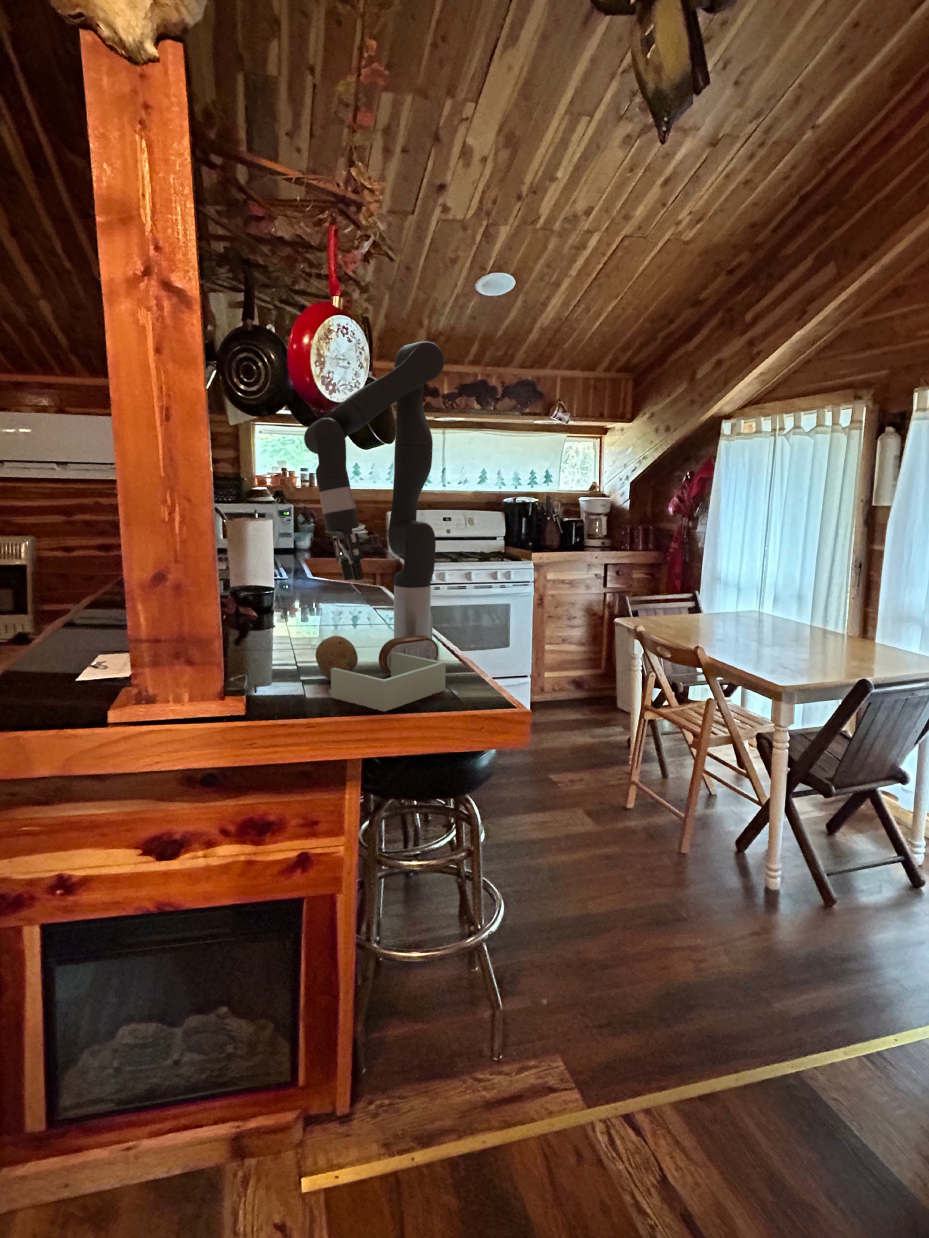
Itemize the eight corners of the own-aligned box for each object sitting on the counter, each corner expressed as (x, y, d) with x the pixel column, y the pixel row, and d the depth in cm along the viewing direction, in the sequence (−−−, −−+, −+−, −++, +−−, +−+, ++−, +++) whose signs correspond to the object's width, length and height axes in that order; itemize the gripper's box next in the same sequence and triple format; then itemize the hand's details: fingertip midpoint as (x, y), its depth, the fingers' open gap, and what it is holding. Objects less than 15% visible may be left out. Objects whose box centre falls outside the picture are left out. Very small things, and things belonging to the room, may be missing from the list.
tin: (432, 667, 178) (433, 632, 177) (440, 670, 176) (440, 634, 174) (377, 676, 169) (377, 639, 168) (385, 679, 167) (385, 642, 165)
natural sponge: (339, 673, 171) (339, 630, 170) (366, 680, 166) (366, 636, 164) (307, 680, 165) (307, 636, 163) (335, 688, 159) (334, 642, 157)
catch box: (393, 678, 168) (393, 651, 167) (445, 690, 160) (445, 662, 159) (331, 697, 153) (330, 668, 152) (384, 711, 145) (384, 681, 144)
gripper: (363, 504, 166) (378, 576, 168) (346, 509, 179) (360, 576, 181) (330, 510, 163) (346, 583, 165) (316, 514, 176) (330, 582, 178)
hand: (353, 579), depth 173 cm, fingers open, 8 cm apart
